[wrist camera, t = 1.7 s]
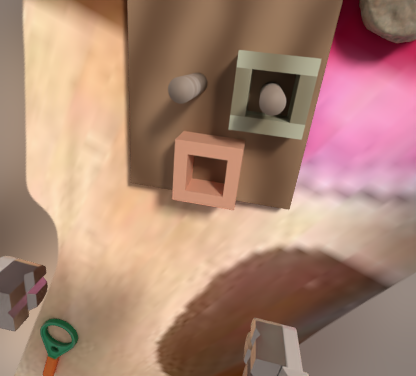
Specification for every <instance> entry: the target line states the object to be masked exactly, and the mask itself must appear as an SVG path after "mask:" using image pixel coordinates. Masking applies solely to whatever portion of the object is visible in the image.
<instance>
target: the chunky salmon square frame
mask: <svg viewBox="0 0 416 376" xmlns="http://www.w3.org/2000/svg"><path fill="white" fill-rule="evenodd" d="M244 146H245V140H242V139H235V138H228V137H221V136H214V135H207V134H200V133H194V132H187V131H183V132H182V133H181V134H180V135H179V136H178V137H177V138H176V139H175V153H174V173H173V193H172V200H178V201H183V202H189V203H195V204H201V205H206V206H212V207H218V208H224V209H229V210H234V207H235V202H236V196H237V190H238V184H239V178H240V172H241V165H242V159H243V153H244ZM194 155H196V156H202V157H209V158H215V159H222V160H228V162H227V170H226V177H225V184H224V183H218V182H212V181H206V180H199V179H193V178H192V174H193V162H194Z"/></svg>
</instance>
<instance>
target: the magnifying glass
mask: <svg viewBox="0 0 416 376" xmlns="http://www.w3.org/2000/svg"><path fill="white" fill-rule="evenodd" d="M50 325H55V326H59V327H61V328H63V329H65V330H66V331H67V332H68V333H69V334H70V335H71V338H72V342H70V343H62V342H59V341H57V340H55V339H54V338H53V337H52V336H51V335H50V334H49V332H48V326H50ZM40 334H41V337H42V340H43V342H44V345H45V348H46V350H47V353H48V357H47V360H46V364H45V368H44V371H43V376H54V373H55V370H56V367H57V363H58V360H59V357H60V356H61V355H62V354H64V353H66V352H67V351H69V350H71V349H72V348H73V347H74V345H75V344H76V343H77V340H78V335H77V332H76V330H75V329H74V328H73V327H72V326H71V325H70V324H69V323H67V322H65V321H63V320H60V319H50V320H48V321H46V322H45V323H44V325H43V326H42V327H41V330H40ZM56 347H57V348H56Z"/></svg>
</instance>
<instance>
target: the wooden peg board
mask: <svg viewBox="0 0 416 376" xmlns="http://www.w3.org/2000/svg"><path fill="white" fill-rule="evenodd" d="M342 2H343V0H127V4H128V56H129V108H130V160H131V183H135V184H141V185H147V186H153V187H159V188H165V189H171V190H173V173H174V153H175V139H176V138H177V137H178V136H179V135H180V134H181V133H182V132H183V131H187V132H194V133H200V134H207V135H214V136H221V137H228V138H235V139H242V140H245V146H244V153H243V159H242V165H241V172H240V178H239V184H238V190H237V196H236V201H241V202H247V203H253V204H259V205H265V206H271V207H277V208H283V209H290V205H291V201H292V197H293V194H294V190H295V186H296V182H297V178H298V174H299V170H300V166H301V162H302V158H303V154H304V151H305V147H306V143H307V139H308V135H309V131H310V127H311V123H312V119H313V115H314V111H315V107H316V104H317V100H318V96H319V92H320V88H321V84H322V80H323V76H324V72H325V68H326V64H327V60H328V57H329V53H330V49H331V45H332V41H333V37H334V33H335V29H336V25H337V21H338V17H339V14H340V10H341V6H342ZM227 162H228V160H222V159H215V158H209V157H202V156H196V155H194V162H193V174H192V178H193V179H199V180H206V181H212V182H218V183H224V184H225V177H226V170H227Z"/></svg>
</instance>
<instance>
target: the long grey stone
mask: <svg viewBox="0 0 416 376" xmlns="http://www.w3.org/2000/svg"><path fill="white" fill-rule="evenodd" d="M359 7H360V9H361V16H362V21H363V23H364V25H365V27H366V28H367V29H368V30H370V31H371V32H373V33H375V34H377V35H379V36H381V37H382V38H385V39H386V40H389V41H391V42H394V43H403V42H410V41H413V40H415V39H416V0H360V3H359Z"/></svg>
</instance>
